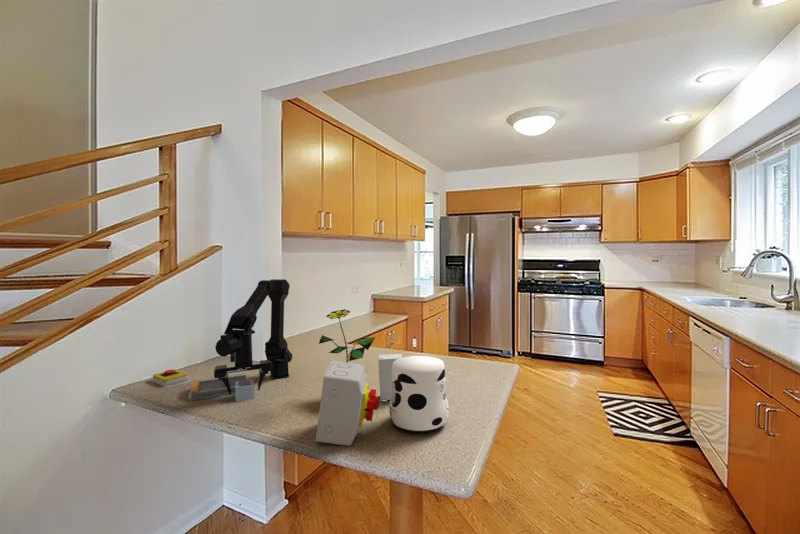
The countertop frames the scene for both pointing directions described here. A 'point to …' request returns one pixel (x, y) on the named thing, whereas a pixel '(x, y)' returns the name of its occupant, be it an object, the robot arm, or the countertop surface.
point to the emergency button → (171, 378)
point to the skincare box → (386, 374)
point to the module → (244, 390)
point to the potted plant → (354, 353)
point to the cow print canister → (418, 394)
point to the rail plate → (213, 387)
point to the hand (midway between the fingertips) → (244, 392)
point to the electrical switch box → (344, 403)
